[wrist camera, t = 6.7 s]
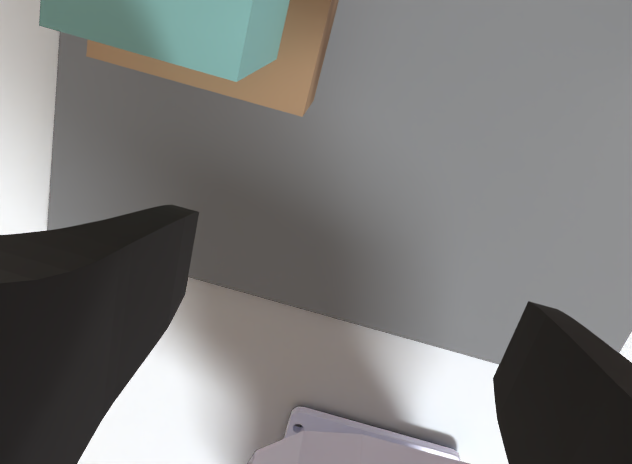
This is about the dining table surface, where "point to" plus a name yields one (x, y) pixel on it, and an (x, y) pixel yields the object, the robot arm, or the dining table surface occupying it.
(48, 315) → the robot arm
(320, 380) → the dining table surface
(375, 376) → the dining table surface
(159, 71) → the walnut base
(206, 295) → the dining table surface
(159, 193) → the mat
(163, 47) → the teal block
